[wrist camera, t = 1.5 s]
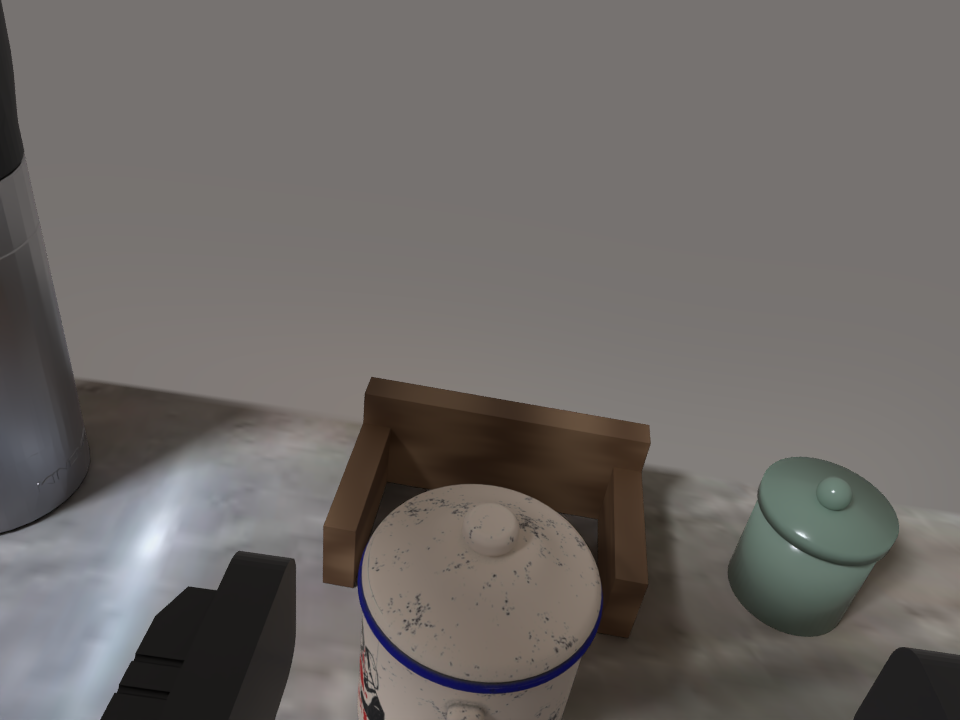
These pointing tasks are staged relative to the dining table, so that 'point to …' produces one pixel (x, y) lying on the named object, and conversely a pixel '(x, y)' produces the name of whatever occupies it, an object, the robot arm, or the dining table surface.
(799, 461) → the green ceramic sugar pot
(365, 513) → the walnut cup holder
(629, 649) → the dining table surface
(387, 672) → the teacup with lid
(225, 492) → the dining table surface
